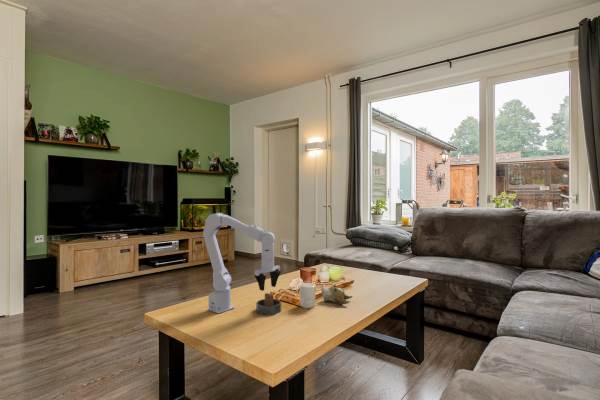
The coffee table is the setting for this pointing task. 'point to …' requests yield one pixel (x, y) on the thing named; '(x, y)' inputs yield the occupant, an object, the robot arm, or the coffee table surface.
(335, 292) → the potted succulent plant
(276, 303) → the candle tin
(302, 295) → the white cup
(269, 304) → the wood wick
